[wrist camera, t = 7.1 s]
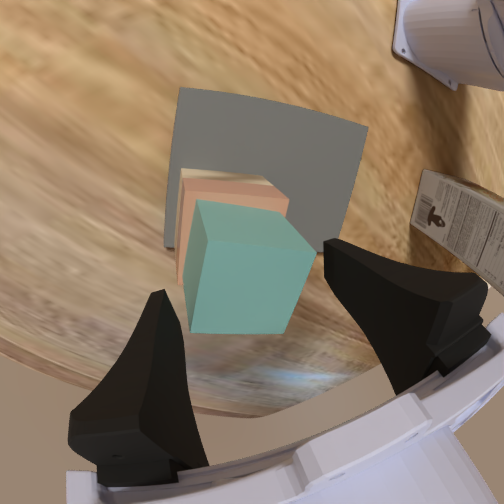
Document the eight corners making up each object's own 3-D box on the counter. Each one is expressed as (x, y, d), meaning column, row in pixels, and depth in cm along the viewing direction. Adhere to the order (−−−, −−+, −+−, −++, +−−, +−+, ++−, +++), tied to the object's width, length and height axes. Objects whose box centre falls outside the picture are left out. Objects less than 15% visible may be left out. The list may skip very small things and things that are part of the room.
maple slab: (261, 175, 20) (273, 186, 17) (248, 246, 22) (257, 263, 20) (181, 168, 18) (182, 177, 16) (174, 244, 20) (175, 262, 18)
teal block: (279, 212, 16) (317, 252, 12) (257, 281, 17) (283, 333, 14) (196, 198, 14) (208, 240, 10) (182, 276, 16) (190, 332, 12)
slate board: (361, 125, 20) (368, 127, 20) (328, 247, 25) (333, 252, 25) (179, 88, 16) (180, 87, 15) (163, 240, 21) (163, 247, 20)
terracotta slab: (273, 186, 17) (289, 199, 15) (257, 264, 20) (268, 285, 18) (182, 177, 16) (185, 190, 14) (175, 262, 18) (177, 284, 16)
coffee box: (466, 177, 26) (572, 240, 13) (452, 225, 29) (548, 297, 16) (421, 167, 24) (558, 244, 11) (406, 226, 27) (523, 319, 14)
